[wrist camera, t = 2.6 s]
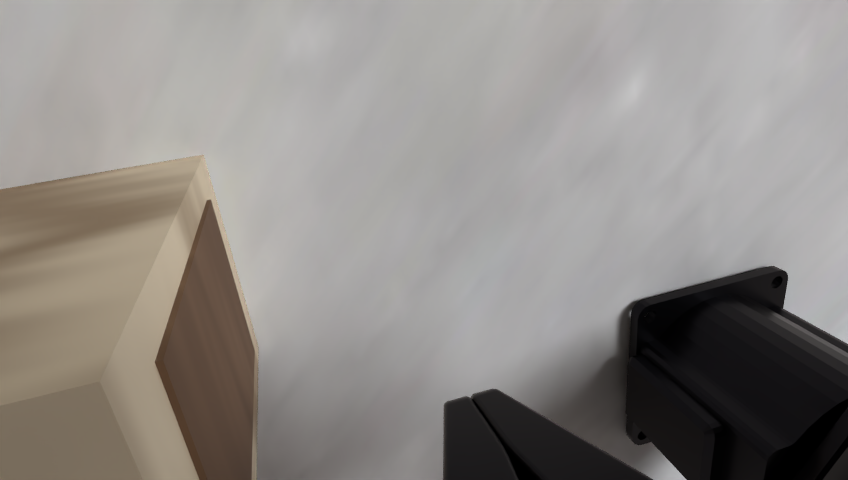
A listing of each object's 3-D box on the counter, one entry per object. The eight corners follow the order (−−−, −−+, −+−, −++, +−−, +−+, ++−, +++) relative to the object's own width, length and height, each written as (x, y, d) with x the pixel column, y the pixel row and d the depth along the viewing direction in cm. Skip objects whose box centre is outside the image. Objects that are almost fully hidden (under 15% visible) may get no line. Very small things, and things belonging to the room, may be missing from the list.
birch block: (207, 153, 14) (111, 379, 5) (261, 346, 16) (260, 728, 8) (-59, 199, 13) (-793, 597, 4) (41, 400, 15) (-274, 932, 6)
